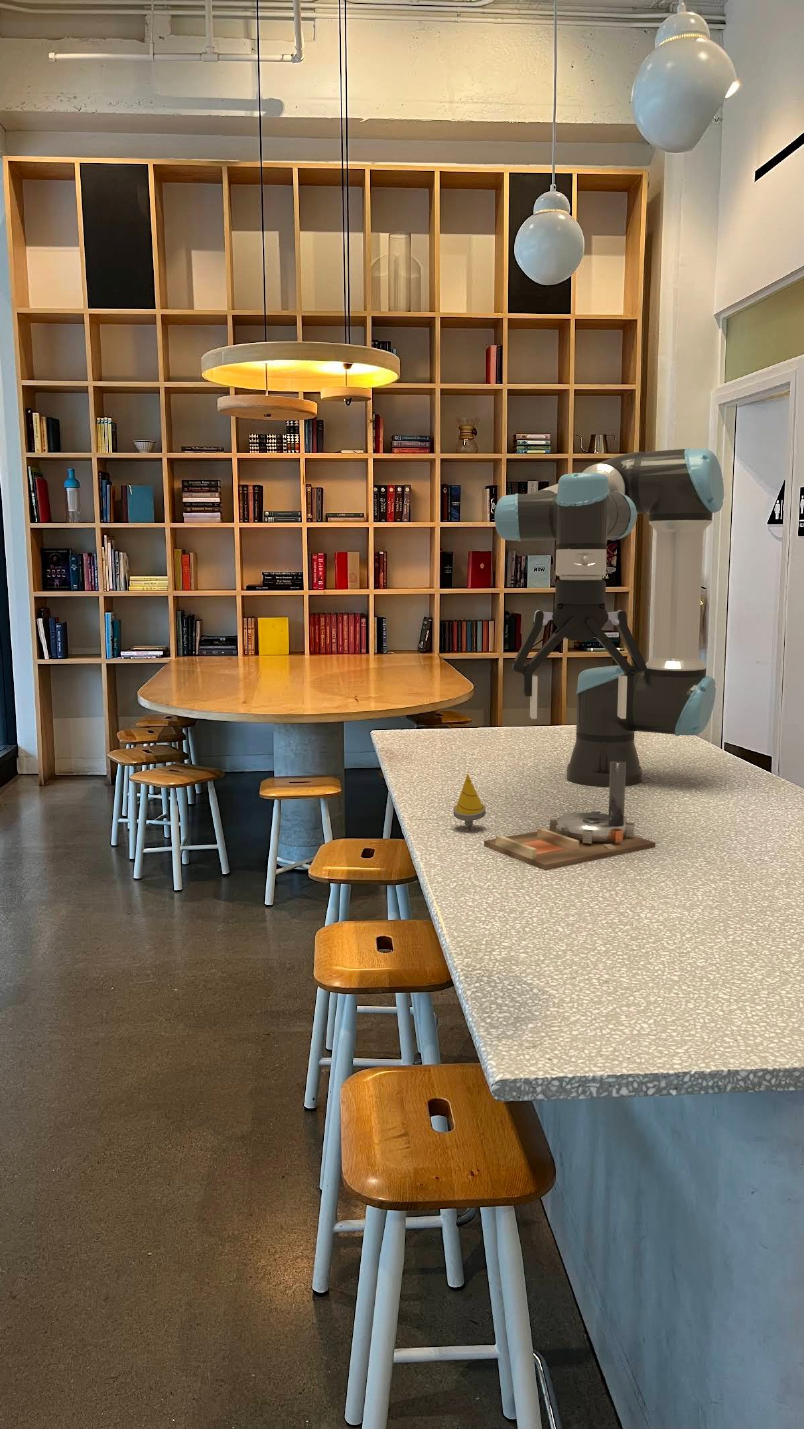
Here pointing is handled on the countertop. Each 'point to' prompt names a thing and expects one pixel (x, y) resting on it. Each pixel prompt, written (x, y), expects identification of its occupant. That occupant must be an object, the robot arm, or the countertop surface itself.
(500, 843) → the brown wooden board
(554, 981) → the countertop surface
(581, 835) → the sprocket
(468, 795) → the drill bit
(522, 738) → the countertop surface
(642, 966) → the countertop surface
